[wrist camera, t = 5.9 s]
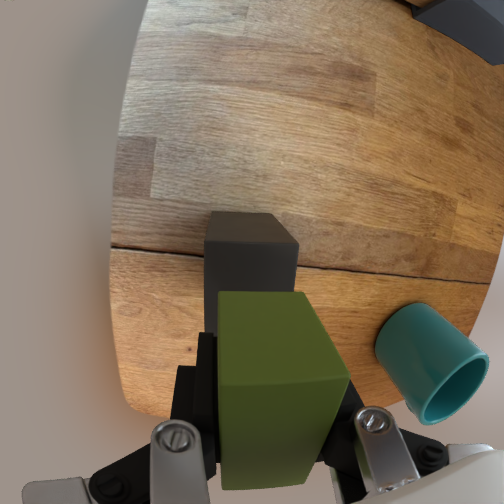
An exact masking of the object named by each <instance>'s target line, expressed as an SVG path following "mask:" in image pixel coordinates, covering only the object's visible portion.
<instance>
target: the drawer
mask: <svg viewBox="0 0 504 504" xmlns="http://www.w3.org/2000/svg"><path fill="white" fill-rule="evenodd" d="M405 1H408V2H410V3H412V4H414V5H416V6H418V7H420V8H422V7H424V6H426V5H427V4H429V3H431V2H433V1H434V0H405Z"/></svg>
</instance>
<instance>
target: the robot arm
mask: <svg viewBox="0 0 504 504" xmlns="http://www.w3.org/2000/svg"><path fill="white" fill-rule="evenodd" d="M321 461H324V462H325V464H326V465H328V466H330V474H331V478H332V483H333V488H334V493H335V498H336V503H337V504H504V450H493V449H492V447H491V446H489V445H487V444H482V443H480V444H447V445H446V446H444V445H443V444H442V443H441V442H439V441H436V440H433V439H430V438H427V437H424V436H421V435H418V434H415V433H412V432H409V431H406V430H404V429H401V428H398V426H397V424H396V421H395V419H394V417H393V416H392V414H391V413H390V412H389V411H387V410H386V409H384V408H382V407H378V406H366V407H365V406H364V404H363V402H362V400H361V398H360V396H359V394H358V393H357V391H356V389H355V387H354V385H353V383H352V382H351V380H349V383H348V386H347V389H346V391H345V394H344V397H343V399H342V402H341V404H340V407H339V409H338V412H337V414H336V417H335V419H334V422H333V424H332V426H331V429H330V431H329V433H328V436H327V438H326V440H325V442H324V444H323V447H322V449H321V451H320V453H319V455H318V457H317V459H316V461H315V462H321ZM216 463H220V442H219V410H218V336H214V333H211V332H199V338H198V349H197V360H196V366H183V365H179V366H178V369H177V375H176V381H175V388H174V395H173V402H172V409H171V416H170V420H167V421H164V422H162V423H160V424H159V425H157V426H156V427H155V428H154V430H153V431H152V435H151V443H149V444H147V445H145V446H144V447H142V448H140V449H138V450H137V451H135V452H133V453H131V454H129V455H128V456H126V457H124V458H122V459H120V460H118V461H116V462H114V463H112V464H111V465H109V466H107V467H104V468H102V469H101V470H99V471H97V472H96V473H94V474H93V475H92V477H91V478H86V479H83V478H82V477H75V478H67V479H57V480H46V481H33V482H29V483H27V484H26V485H25V486H24V487H23V489H22V501H23V504H210V498H209V492H208V486H207V481H208V480H209V479H210V478H212V477H213V476H214V475H216Z"/></svg>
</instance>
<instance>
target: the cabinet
mask: <svg viewBox="0 0 504 504" xmlns="http://www.w3.org/2000/svg"><path fill="white" fill-rule="evenodd" d="M411 7H412V13H413V18H414V19H416V20H418V21H420V22H422V23H424V24H426V25H428V26H430V27H432V28H434V29H436V30H438V31H439V32H441V33H443V34H445V35H447V36H448V37H450V38H452V39H454V40H455V41H457V42H459V43H460V44H462V45H463V46H465V47H467V48H468V49H470V50H471V51H473V52H474V53H476V54H477V55H479V56H480V57H482V58H483V59H484V60H486V61H487V62H489V63H490V64H491V65H493V66H494V65H500V64H504V0H434V1H433V2H431V3H429V4H427V5H426V6H424V7H422V8H420V7H418V6H416V5H414V4H412V3H411Z"/></svg>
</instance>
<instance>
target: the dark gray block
mask: <svg viewBox="0 0 504 504" xmlns="http://www.w3.org/2000/svg"><path fill="white" fill-rule="evenodd" d="M298 251H299V243H298V242H297V241H296V240H295V239H294V238H293V237H292V236H291V234H290V233H289V232H288V231H287V230H286V229H285V228H284V227H283V226H282V225H281V223H280V222H279V221H278V220H277V219H276V218H275V217H274V216H273V215H272V214H265V213H242V212H211V216H210V220H209V224H208V228H207V232H206V236H205V240H204V326H205V332H211V333H214V336H218V292H219V291H248V292H294V285H295V277H296V269H297V260H298Z"/></svg>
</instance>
